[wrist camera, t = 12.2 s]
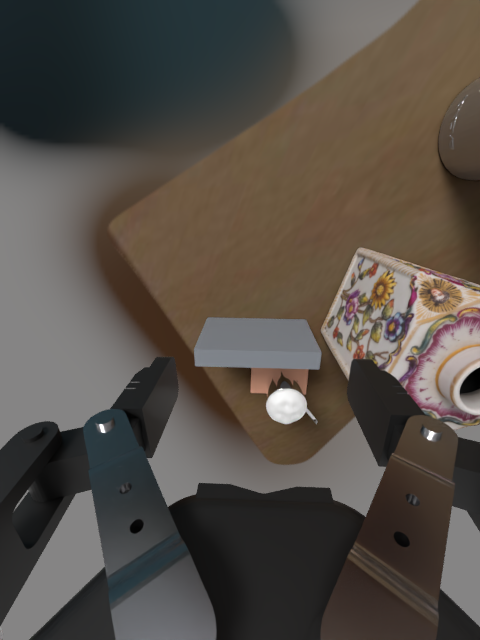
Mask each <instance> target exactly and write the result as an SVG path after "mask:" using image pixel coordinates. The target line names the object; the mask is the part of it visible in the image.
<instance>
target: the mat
mask: <svg viewBox="0 0 480 640" xmlns="http://www.w3.org/2000/svg"><path fill="white" fill-rule="evenodd" d="M293 370H294V373H295V375H296V378H297V381H298V383H299V386H300V388H301V390H302V392H303V395H306V389H307V380H308V371H309V369H293ZM267 389H268V368H251V393H267Z"/></svg>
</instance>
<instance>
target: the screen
mask: <svg viewBox="0 0 480 640" xmlns="http://www.w3.org/2000/svg"><path fill="white" fill-rule="evenodd" d="M194 355H195V366H209V367H245V368H280V369H316V370H319V368H320V360H321V350H320V348H319V346H318V344H317V342H316V340H315V338H314V336H313V334H312V332H311V330H310V328H309V325H308V323H307V321H306V320H305V319H258V318H210V317H208V318H207V320H206V322H205V325H204V327H203V329H202V332H201V334H200V337H199V339H198V341H197V344H196V346H195V349H194Z"/></svg>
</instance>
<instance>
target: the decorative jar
mask: <svg viewBox="0 0 480 640" xmlns="http://www.w3.org/2000/svg"><path fill="white" fill-rule="evenodd" d="M321 333H322V335H323V337H324V339H325V341H326V343H327V344H328V346H329V348H330V350H331V352H332V354H333V355H334V357H335V359H336V361H337V362H338V364H339V366H340V367H341V369H342V371H343V372H344V374H345V376H346V378H347V379H348V381H349V374H350V367H351V362H352V360H353V359H372V360H373V361H374V363H375V364H376V365H377V367H378V368H379V369H380V370H385V371H387V372H388V373H390V374H391V375H393V376H394V377H396V379H397V380H398V381H399V382H400V384H401V385H402V387H404V389H405V390H406V391H407V393H408V394H409V395H410V396H411V397H412V399H413V400H414V401H415V402H416V403H417V405H418V406H419V407H420V408H421V410H422V411H423V412H424V413H425V415H426V416H429V417H433V418H435V419H438V420H440V421H442V422H444V423H445V424H447V425H448V426H450V427H451V428H452V429H453V430H457V429H460V428H464V427H467V426H473V425H474V426H475V425H479V424H480V285H478V284H475V283H472V282H469V281H466V280H463V279H460V278H457V277H453V276H450V275H447V274H443V273H440V272H437V271H434V270H431V269H428V268H425V267H422V266H419V265H416V264H413V263H410V262H407V261H404V260H401V259H397V258H394V257H391V256H388V255H385V254H382V253H378V252H375V251H372V250H368V249H365V248H358V249H357V251H356V253H355V255H354V257H353V259H352V261H351V264H350V266H349V268H348V271H347V273H346V275H345V277H344V279H343V281H342V284H341V286H340V288H339V290H338V292H337V294H336V297H335V299H334V301H333V303H332V305H331V308H330V310H329V312H328V315H327V317H326V319H325V321H324V323H323V326H322V328H321Z"/></svg>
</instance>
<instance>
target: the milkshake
mask: <svg viewBox="0 0 480 640" xmlns="http://www.w3.org/2000/svg"><path fill="white" fill-rule="evenodd" d="M266 408H267V412H268V414H269V415H270V417H271V418H272V419H273V420H275V421H277V422H280V423H283V424H290V423H292V422H295V421H297V420H299V419H301V418H302V417H303V415H304V414H305V412H307V413H308V415H309V416H310V417H311V418H312V420H313V421H314V422H315V423H316V424H317V422H318V421H317V420H316V418H315V417H314V416H313V415H312V414H311V412H310V411H309V410H308V409H307V402H306V399H305V397H304V395H303V392H302V390H301V388H300V386H299V383H298V381H297V378H296V375H295V373H294V370H293V369H280V368H268V389H267V402H266Z"/></svg>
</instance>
